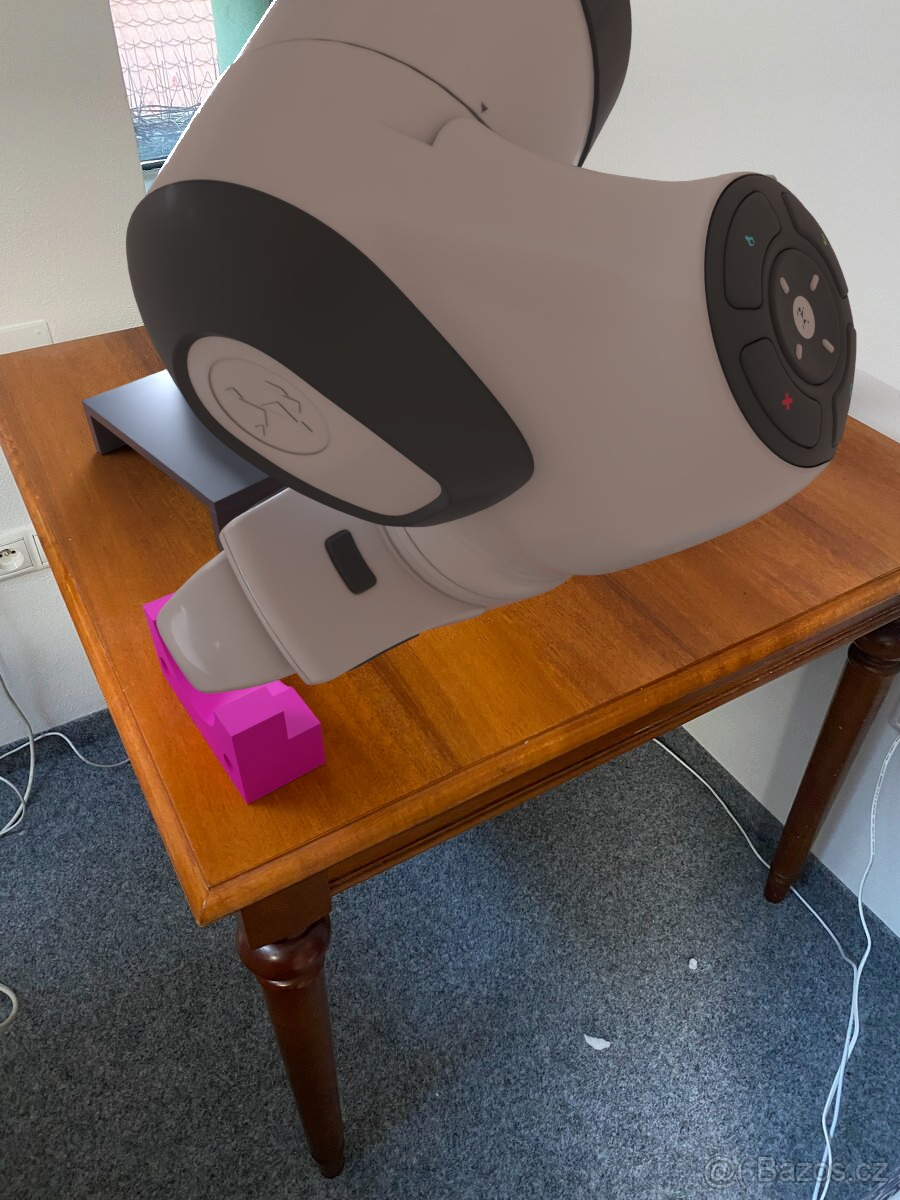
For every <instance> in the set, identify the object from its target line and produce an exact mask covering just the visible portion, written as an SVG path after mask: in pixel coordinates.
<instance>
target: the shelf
mask: <svg viewBox="0 0 900 1200" xmlns="http://www.w3.org/2000/svg"><path fill="white" fill-rule="evenodd" d="M81 403H82V407H83V411H84V415H85V417H86V420H87V421H86V422H87V425H88V427H89V430H90V434H91V437H92V440H93V444H94V447H95V450H96V452H98V453H99V454H100V455H105V454H107V453H111V452H112V451H115V450H117V449H120V448H122V447H124V446H127V445H128V446H129V447H130V448H132V449H133V450H134V451H135V452H137V453H138V454H139V455H141V457H143V458H145V459H146V460H147V461H148V462H150V464H153V466H155V467H156V468H157V469H158V470H160V471H161V472H162V473H164V474H165V475H166V476H167V477H169V478H170V479H172V481H174V482H175V483H176V484H178V485H179V486H180V487H182V488H183V489H184V490H185V491H187V493H189V494H190V495H192V496H193V497H194V498H195V499H196V500H198V501H199V502H201V503H202V504H203V505H205V506H206V507H207V508H209V515H210V519H211V523H212V529H213V533H214V539H215V543H216V549H217V550H218V551H219V553H221V552H222V551H223V550H224V548H223V546H222V544H221V541H220V539H219V535H220V532H221V531H222V529H223V528H224V527H225V526H226V525H227V524H228V523H229V522H231V521H232V520H233V519H235V518H236V517H238V516H239V515H241V514H243V513H245V512H246V511H247V510H248V509H249V508H251V507H252V506H254V505H255V504H257V503H258V502H260V501H261V500H263V499H265V498H266V497H268V496H270V495H272V494H273V493H275V492H277V491H278V490H280V489H282V488H283V487H285V485H283V484H282V483H280V482H278V481H277V480H275V479H273V478H272V477H270V476H269V475H267V474H265V473H264V472H262V471H261V470H259V469H258V468H256V467H255V466H253V465H252V464H250V463H249V462H247V461H246V460H245V459H243V458H242V457H240V456H239V455H238V454H236V453H235V452H233V451H232V450H231V449H230V448H228V447H227V446H226V445H224V444H223V443H222V442H221V441H220V440H219V439H217V438H216V437H215V436H214V435H213V434H212V433H211V432H210V431H209V430H208V429H207V428H206V427H205V426H204V425H203V423H202V422H201V421H200V420H199V419H198V417H197V416H196V415H195V413H194V412H193V411H192V409H191V408H190V406H189V405H188V403H187V402H186V400H185V399H184V397H183V395H182V394H181V392H180V391H179V389H178V388H177V386H176V385H175V383H174V381H173V380H172V378H171V376H170V374H169V373H168V371H167V369H166V368H165V369H164V370H160V371H158V372H155V373H153V374H150V375H147V376H144V377H142V378H139V379H136V380H134V381H130V382H128V383H125V384H123V385H119V386H117V387H114V388H111V389H109V390H107V391H104V392H101V393H98V394H95V395H93V396H91V397H87V398H85V399H82V400H81Z"/></svg>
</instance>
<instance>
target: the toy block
mask: <svg viewBox="0 0 900 1200" xmlns="http://www.w3.org/2000/svg"><path fill="white" fill-rule="evenodd" d="M176 592H177V591H175V592H172V593H170V594H167V595H165V596H162V597H160V598H157V599H155V600H152V601H150V602H148V603H144V604H142V609H143V612H144V616H145V619H146V622H147V625H148V629H149V632H150V636H151V639H152V642H153V646H154V650H155V653H156V656H157V659H158V663H159V665H160V669H161V673H162V675H163V676H164V678H165V680H166V681H167V683H168V684H169V686H170V688H171V689H172V690H173V692H174V694H175V695H176V697H177V699H178V700H179V701H180V703H181V704H182V706H183V708H184V709H185V710H186V712H187V714H188V715H189V717H190V718H191V720H192V722H193V723H194V725H195V727H196V728H197V729H198V731H199V732H200V734H201V735H202V737H203V738H204V740H205V742H206V743H207V744H208V746H209V748H210V749H211V751H212V752H213V754H214V756H215V757H216V759H217V760H218V761H219V763H220V765H221V766H222V768H223V770H224V771H225V772H226V774H227V775H228V777H229V778H230V780H231V782H232V784H233V785H234V787H235V788H236V790H237V791H238V793H239V794H240V795H241V797H242V799H243V800H244V802H245V804H246V805H248V806H249V805H250V804H251V803H253V802H255V801H257V800H259V799H261V798H263V797H265V796H266V795H268V794H270V793H272V792H274V791H276V790H278V789H279V788H281V787H283V786H286V785H287V784H288V783H291V782H293V781H295V780H297V779H298V778H300V777H302V776H304V775H305V774H307V773H309V772H311V771H313V770H315V769H316V768H320V766H322V765H324V764H326V755H325V746H324V739H323V738H324V737H323V730H322V723H321V721H319V719H318V718H317V717H316V715H315V714H314V712H312V710H311V709H310V708H309V706H308V705H307V704H306V702H305V700H303V698H302V697H301V696H300V695H299V693H298V692H297V691H296V689H295V688H294V687H293V686H288V685H286V684H285V683H283V682H282V681H281V680H280V679H279V680H277V681H274V682H271V683H268V684H264V685H261V686H257V687H252V688H247V689H242V690H236V691H230V692H222V693H212V694H207V693H202V692H200V691H198V690H196V689H195V688H194V687H193V686H192V685H191V683H190V682H189V681H188V680H187V678H186V677H185V675H184V674H183V672H182V671H181V669H180V668H179V666H178V665H177V663H176V662H175V660H174V658H173V657H172V655H171V653H170V651H169V650H168V648H167V646H166V644H165V642H164V641H163V639H162V637H161V635H160V633H159V630H158V628H157V623H156V620H157V616H158V613H159V612H160V610H161V609H162V607H163V606H164V605H165V604H166V603H167V602H168V600H169V599H170V598H171V597H172V596H173V595H174V594H175V593H176Z"/></svg>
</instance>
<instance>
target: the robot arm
mask: <svg viewBox="0 0 900 1200" xmlns="http://www.w3.org/2000/svg"><path fill="white" fill-rule="evenodd" d="M632 19H633V18H632V5H631V0H272V2H271V4H270V5H269V7H268V8H267V10H266V11H265V13H264V15H263V16H262V18H261V19H260V21H259V23H258V24H257V25H256V27H255V28H254V30H253V32H252V33H251V35H250V36H249V37H248V39H247V41H246V43H245V44H244V45H243V47H242V49H241V50H240V52H239V53H238V55H237V57H236V58H235V60H234V61H233V62H232V63H231V64H229V66H228V67H227V68H226V70H224V72H223V73H222V74H221V75H220V76H219V77H218V79H217V80H216V81H215V83H214V85H213V86H212V87H211V90H209V92H208V94H207V95H206V97H205V98H204V100H203V102H202V103H201V104H200V106H199V108H198V109H197V111H196V112H195V114H194V116H193V117H192V118H191V120H190V122H189V123H188V125H187V126H186V128H185V129H184V130H183V133H182V134H181V135H180V137H179V139H178V141H177V142H176V144H175V145H174V147H173V149H172V150H171V152H170V153H169V155H168V157H167V159H166V160H165V162H164V163H163V165H162V167H161V168H160V169H159V172H157V175H156V176H155V178H154V180H153V181H152V183H151V185H150V187H149V188H148V190H147V191H146V194H145V195H144V198H142V199H141V200H140V202H138V204H137V205H136V206H135V208H134V210H133V211H132V213H131V215H130V218H129V221H128V223H127V228H126V233H125V254H126V262H127V264H126V265H127V271H128V276H129V280H130V286H131V290H132V295H133V298H134V300H135V303H136V304H135V305H136V306H137V310H138V312H139V315H140V318H141V321H142V324H143V326H144V328H145V330H146V333H147V334H148V337H149V339H150V341H151V342H152V346H153V348H154V349H155V351H156V353H157V355H158V356H159V359H160V360H161V362H162V363H163V366H164V367H165V370H166V369H167V371H168V373H169V374H170V376H171V378H172V380H173V381H174V383H175V385H176V386H177V388H178V389H179V391H180V392H181V394H182V395H183V397H184V399H185V400H186V402H187V403H188V405H189V406H190V408H191V409H192V411H193V412H194V413H195V415H196V416H197V417H198V419H199V420H200V421H201V422H202V423H203V425H204V426H205V427H206V428H207V429H208V430H209V431H210V432H211V433H212V434H213V435H214V436H215V437H216V438H217V439H219V440H220V441H221V442H222V443H223V444H224V445H226V446H227V447H228V448H230V449H231V450H232V451H233V452H235V453H236V454H238V455H239V456H240V457H242V458H243V459H245V460H246V461H247V462H249V463H250V464H252V465H253V466H255V467H256V468H258V469H259V470H261V471H262V472H264V473H265V474H267V475H269V476H270V477H272V478H273V479H275V480H277V481H278V482H280V483H282V484H283V485H285V487H283V488H282V489H280V490H278V491H277V492H275V493H273V494H272V495H270V496H268V497H266V498H265V499H263V500H261V501H260V502H258V503H257V504H255V505H254V506H252V507H251V508H249V509H248V510H247V511H246V512H245V513H243V514H241V515H239V516H238V517H236V518H235V519H233V520H232V521H231V522H229V523H228V524H227V525H226V526H225V527H224V528H223V529H222V531H221V532H220V535H219V539H220V541H221V544H222V546H223V548H224V550H223V551H222V552H219V553H217V555H215V556H214V557H213V558H211V559H210V560H209V561H207V562H206V563H205V564H203V565H202V566H201V567H200V568H199V569H198V570H197V571H196V572H195V573H194V574H192V575H191V576H190V577H189V578H188V579H187V580H186V581H185V582H184V583H183V584H182V585H181V586H180V587H179V588H178V589H177V590H176V591H175V592H176V593H175V592H174V593H175V594H174V595H173V596H172V597H171V598H170V599H169V600H168V602H167V603H166V604H165V605H164V606H163V607H162V609H161V610H160V612H159V613H158V616H157V620H156V623H157V628H158V630H159V633H160V635H161V637H162V639H163V641H164V642H165V644H166V646H167V648H168V650H169V651H170V653H171V655H172V657H173V658H174V660H175V662H176V663H177V665H178V666H179V668H180V669H181V671H182V672H183V674H184V675H185V677H186V678H187V680H188V681H189V682H190V683H191V685H192V686H193V687H194V688H195V689H196V690H198V691H200V692H202V693H207V694H212V693H222V692H230V691H236V690H242V689H247V688H252V687H257V686H261V685H264V684H268V683H271V682H274V681H277V680H279V681H280V680H282V679H284V678H287V677H289V676H292V675H294V674H297V675H298V676H299V678H300V679H301V680H302V682H303V683H304V684H305V685H307V686H316V685H320V684H325V683H328V682H330V681H333V680H334V679H336V678H338V677H340V676H342V675H343V674H346V673H349V672H352V671H354V670H356V669H358V668H360V667H362V666H363V665H365V664H367V663H369V662H371V661H373V660H374V659H376V658H378V657H380V656H381V655H383V654H385V653H387V652H390V651H391V650H393V649H395V648H396V647H398V646H401V645H403V644H405V643H407V642H409V641H411V640H414V639H416V638H418V637H419V636H420V634H422V633H424V632H426V631H430V630H436V629H439V628H443V627H448V626H452V625H457V624H460V623H462V622H466V621H468V620H473V619H476V618H478V617H480V616H482V615H483V614H484V613H486V612H488V611H493V610H495V609H499V608H502V607H506V606H508V605H511V604H515V603H518V602H521V601H524V600H529V599H531V598H534V597H537V596H538V597H539V596H541V595H544V594H546V593H548V592H550V591H552V590H554V589H556V588H558V587H559V586H561V585H563V584H564V583H566V581H568V580H569V579H571V578H572V577H573V576H600V575H608V574H613V573H616V572H620V571H624V570H628V569H631V568H635V567H638V566H640V565H644V564H647V563H650V562H653V561H656V560H660V559H662V558H664V557H668V556H671V555H673V554H677V553H680V552H682V551H685V550H688V549H690V548H694V547H696V546H698V545H701V544H703V543H706V542H708V541H711V540H713V539H716V538H719V537H720V536H723V535H726V534H728V533H730V532H732V531H735V530H737V529H739V528H741V527H743V526H746V525H747V524H750V523H751V522H753V521H755V520H757V519H759V518H761V517H762V516H764V515H767V514H768V513H770V512H772V511H774V509H776V508H778V507H779V506H781V505H782V504H784V503H785V502H787V501H788V500H790V499H792V498H793V497H795V496H796V495H797V494H799V493H800V492H801V491H802V490H805V488H806V487H808V486H809V485H810V484H811V483H812V482H813V481H814V480H815V479H817V478H818V476H820V475H821V474H822V473H823V472H824V471H825V470H826V468H827V467H828V466H829V465H830V463H831V462H832V461H833V460H834V458H835V456H836V452H837V450H838V446H839V443H840V442H841V441H842V440H843V436H844V432H845V429H846V425H847V420H848V415H849V411H850V406H851V402H852V395H853V391H854V390H853V389H854V382H855V376H856V375H855V374H856V363H857V343H858V342H857V339H858V338H857V335H858V333H857V330H856V328H855V322H854V317H853V312H852V307H851V304H850V299H849V287H848V284H847V280H846V278H845V275H844V273H843V269H842V266H841V264H840V261H839V259H838V257H837V255H836V252H835V250H834V248H833V246H832V244H831V242H830V240H829V238H828V236H827V235H826V233H825V231H824V230H823V228H822V226H821V225H820V223H818V221H817V220H816V218H815V217H814V215H812V213H811V212H810V211H809V210H808V209H807V207H806V206H805V205H804V204H803V203H802V202H801V201H800V199H799V198H798V197H797V196H796V194H794V193H793V192H792V191H791V190H789V188H788V187H786V186H785V185H784V184H783V183H781V182H780V181H778V180H777V181H776V180H775V179H773V178H771V177H769V176H766V175H765V174H763V173H761V172H757V171H747V170H746V171H744V170H743V171H733V172H729V173H723V174H719V175H716V176H710V177H705V178H699V179H691V180H690V179H689V180H677V181H676V180H673V181H671V180H659V179H658V180H657V179H649V178H643V177H642V178H641V177H635V176H627V175H619V174H613V173H607V172H601V171H598V170H593V169H589V168H585V167H583V165H584V164H585V161H586V160H587V157H588V156H589V155H590V153H591V150H592V148H593V146H594V145H595V143H596V141H597V139H598V137H599V135H600V133H601V132H602V130H603V128H604V126H605V124H606V122H607V121H608V119H609V117H610V115H611V113H612V111H613V109H614V107H615V105H616V103H617V101H618V100H619V99H618V98H619V97H620V94H621V92H622V89H623V86H624V83H625V80H626V76H627V72H628V67H629V62H630V57H631V56H630V55H631V49H632V36H633V35H632V34H633V20H632Z"/></svg>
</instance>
